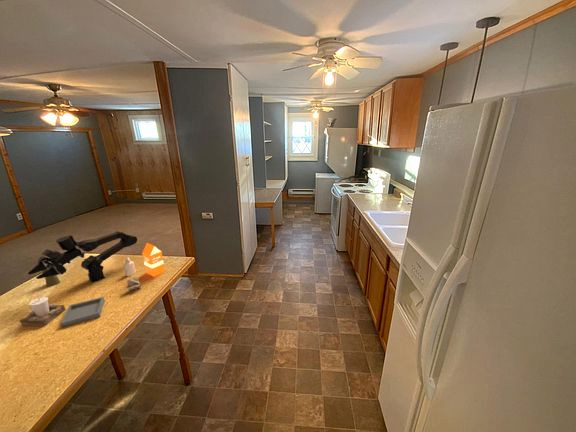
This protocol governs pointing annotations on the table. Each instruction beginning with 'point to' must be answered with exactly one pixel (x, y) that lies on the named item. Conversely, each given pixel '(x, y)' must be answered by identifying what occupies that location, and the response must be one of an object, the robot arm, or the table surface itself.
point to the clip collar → (53, 313)
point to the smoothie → (40, 306)
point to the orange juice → (153, 260)
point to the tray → (83, 311)
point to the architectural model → (132, 284)
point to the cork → (51, 280)
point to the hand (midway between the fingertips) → (32, 276)
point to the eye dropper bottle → (129, 267)
